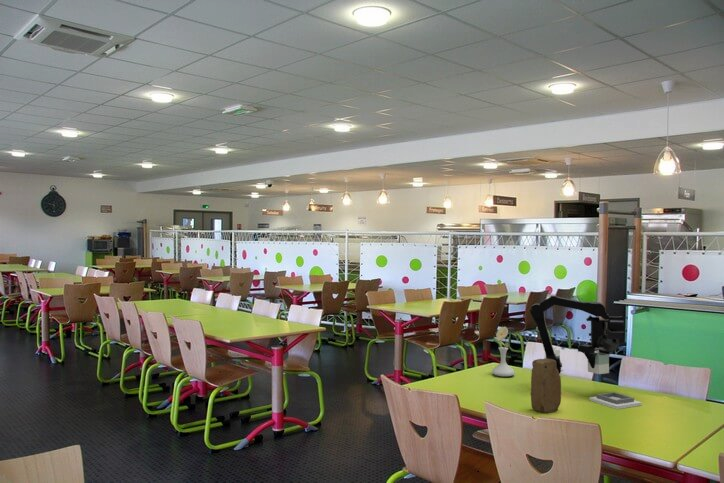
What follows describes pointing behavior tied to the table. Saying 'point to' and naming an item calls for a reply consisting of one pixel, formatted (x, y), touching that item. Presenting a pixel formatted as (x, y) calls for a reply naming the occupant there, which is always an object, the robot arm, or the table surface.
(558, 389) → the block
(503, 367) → the flower in vase
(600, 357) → the grey green box
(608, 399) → the socket plate
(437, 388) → the table surface
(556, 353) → the figurine
